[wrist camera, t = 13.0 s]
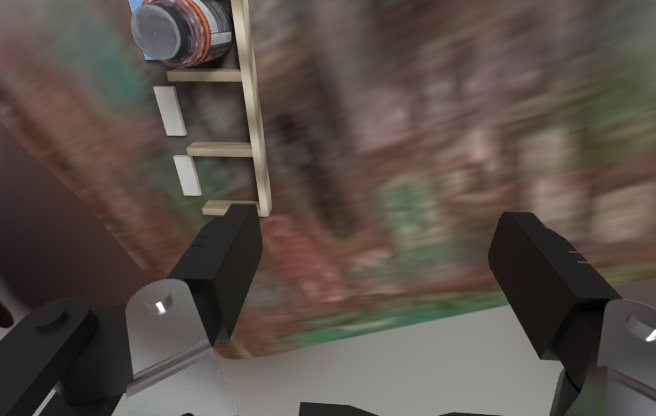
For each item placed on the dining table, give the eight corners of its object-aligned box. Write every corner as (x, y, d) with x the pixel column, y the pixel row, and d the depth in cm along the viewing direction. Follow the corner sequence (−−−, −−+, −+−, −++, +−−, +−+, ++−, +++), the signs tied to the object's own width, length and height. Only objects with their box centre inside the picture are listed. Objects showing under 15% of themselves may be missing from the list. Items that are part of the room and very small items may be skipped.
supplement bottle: (196, 63, 36) (140, 81, 27) (172, 4, 33) (99, 0, 24) (243, 51, 35) (203, 64, 26) (223, -11, 32) (168, -22, 23)
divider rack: (154, -27, 32) (140, -30, 30) (244, -28, 32) (236, -32, 29) (210, 205, 47) (203, 214, 45) (272, 207, 46) (268, 216, 44)
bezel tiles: (131, -3, 33) (127, -3, 33) (152, -3, 33) (149, -4, 33) (186, 193, 46) (184, 195, 45) (201, 193, 46) (200, 195, 45)
